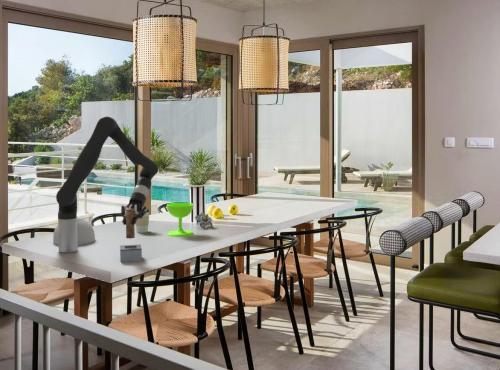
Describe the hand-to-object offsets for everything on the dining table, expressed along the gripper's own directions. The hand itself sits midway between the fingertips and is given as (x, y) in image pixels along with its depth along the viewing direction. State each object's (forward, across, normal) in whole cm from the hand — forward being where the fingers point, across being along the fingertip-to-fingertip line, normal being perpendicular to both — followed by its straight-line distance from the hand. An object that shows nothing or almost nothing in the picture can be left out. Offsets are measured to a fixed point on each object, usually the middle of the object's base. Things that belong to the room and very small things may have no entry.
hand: (128, 224), depth 273 cm
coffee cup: (-35, -28, +61) cm, 75 cm away
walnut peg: (+4, 0, +6) cm, 7 cm away
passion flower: (-52, +3, +78) cm, 94 cm away
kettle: (-10, -52, +36) cm, 64 cm away
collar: (+11, 0, +14) cm, 18 cm away
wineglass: (-35, -2, +61) cm, 70 cm away
